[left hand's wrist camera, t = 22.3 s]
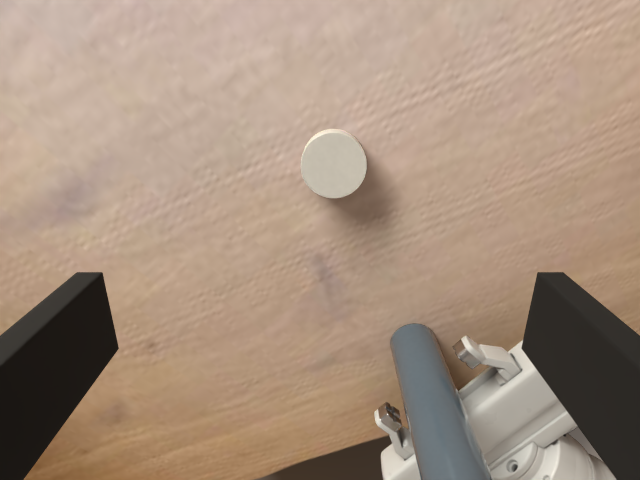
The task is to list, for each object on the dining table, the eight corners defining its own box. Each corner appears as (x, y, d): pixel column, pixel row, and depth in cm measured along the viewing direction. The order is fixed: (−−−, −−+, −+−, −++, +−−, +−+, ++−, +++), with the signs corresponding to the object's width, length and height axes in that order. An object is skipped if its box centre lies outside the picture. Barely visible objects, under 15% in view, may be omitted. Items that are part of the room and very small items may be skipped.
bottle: (383, 333, 41) (427, 547, 23) (426, 316, 40) (510, 523, 22) (400, 367, 42) (455, 594, 24) (442, 352, 42) (533, 574, 23)
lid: (343, 202, 36) (343, 210, 34) (290, 171, 35) (288, 177, 33) (376, 150, 34) (380, 155, 32) (323, 116, 33) (322, 119, 31)
